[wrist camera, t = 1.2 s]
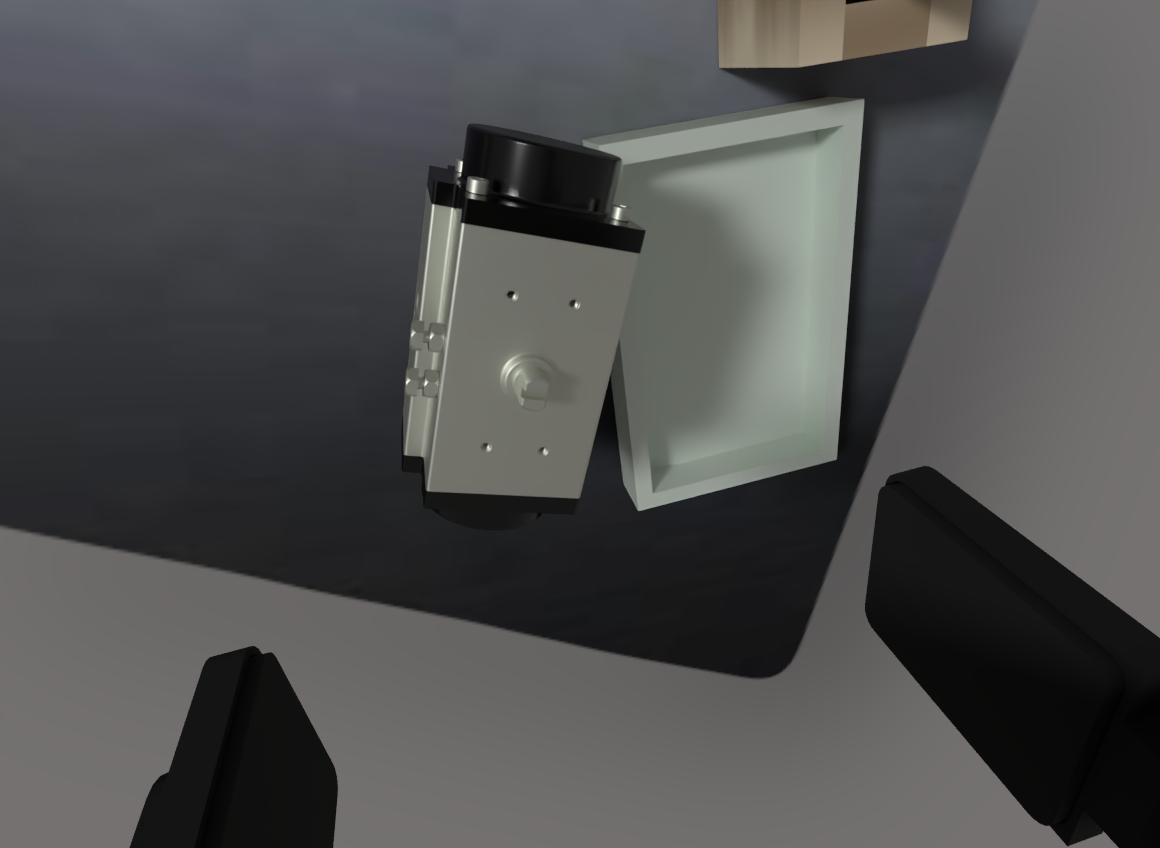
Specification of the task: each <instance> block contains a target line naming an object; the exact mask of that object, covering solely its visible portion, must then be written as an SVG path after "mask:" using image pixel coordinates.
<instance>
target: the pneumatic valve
mask: <svg viewBox="0 0 1160 848" xmlns="http://www.w3.org/2000/svg"><path fill="white" fill-rule="evenodd" d="M621 166H622V159H621V158H620V157H618V156H616V155H613V154H610V153H606V152H603V151H600V150H596V149H592V148H588V147H585V146H581V145H577V144H573V143H569V142H565V141H560V140H556V139H552V138H548V137H543V136H539V135H534V134H530V133H525V132H520V131H515V130H510V129H505V128H500V127H495V126H489V125H483V124H474V123H472V124H469V125H468V126H467V132H466V140H465V148H464V156H463V159H456V165H455V166H451V165H448V169H445V168H440V167H435V166H429V174H428V183H427V193H426V202H425V211H424V221H423V230H422V240H421V249H420V258H419V268H418V277H417V286H416V296H415V305H414V315H413V321H412V323H411V331H410V343H409V349H410V352H409V362H408V368H407V370H406V378H405V399H404V409H403V418H402V471H403V472H413V473H421V474H422V495H423V506H424V508H426V509H432V510H433V511H434V512H435V513H437V514H438V515H439V516H441V517H442V518H444V519H446V520H448V521H450V522H452V523H455V524H457V525H461V526H464V527H467V528H472V529H476V530H483V531H506V530H513V529H517V528H521V527H524V526H526V525H528V524H530V523H532V522H534V521H535V520H536V519H538V518H539V517H540V516H541V514H542V513H547V514H572V515H574V514H576V511H577V507H578V503H579V499H580V495H581V491H582V487H583V483H584V479H585V475H586V471H587V467H588V463H589V459H590V455H591V450H592V446H593V442H594V438H595V434H596V430H597V426H598V422H599V418H600V414H601V410H602V406H603V402H604V398H605V394H606V390H607V386H608V382H609V378H610V374H611V370H612V366H613V362H614V358H615V354H616V350H617V346H618V342H619V338H620V334H621V329H622V325H623V321H624V317H625V313H626V309H627V305H628V301H629V297H630V293H631V289H632V285H633V281H634V277H635V273H636V269H637V265H638V261H639V257H640V253H641V249H642V245H643V241H644V237H645V233H646V230H645V229H643V228H642V227H640V226H639V225H637V224H636V223H634V222H633V221H631V220H630V215H631V211H632V209H631V208H630V207H627V206H624V205H619V204H613V201H614V197H615V193H616V188H617V184H618V179H619V175H620V170H621Z"/></svg>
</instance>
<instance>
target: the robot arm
mask: <svg viewBox="0 0 1160 848" xmlns="http://www.w3.org/2000/svg"><path fill="white" fill-rule="evenodd" d="M865 612H866V616H867V619H868V622H869V623H870V625H871V627H872V628H873V629H874V631H875V632H876V633H877V634H878V636H879V637H880V638H881V639H882V641H883V642H884V643H885V644H886V645H887V647H888V648H889V649H890V650H891V651H892V652H893V654H894V655H895V656H896V657H897V658H898V660H899V661H900V662H901V663H902V664H903V666H904V667H906V669H907V670H908V671H909V672H910V674H911V675H912V676H913V677H914V679H915V680H916V681H917V682H918V683H919V684H920V686H921V687H922V688H923V689H924V690H925V692H926V693H927V694H928V695H929V696H930V697H931V699H932V700H933V701H934V702H935V703H936V705H937V706H938V707H939V708H940V709H941V710H942V712H943V713H944V714H945V715H946V717H947V718H948V719H949V720H950V721H951V722H952V724H953V725H954V726H955V727H956V728H957V730H958V731H959V732H960V733H961V734H962V736H963V737H964V738H965V739H966V740H967V741H968V743H969V744H970V745H971V746H972V747H973V748H974V750H975V751H976V752H977V753H978V754H979V756H980V757H981V758H982V759H983V760H984V762H985V763H986V764H987V765H988V766H989V767H990V769H991V770H992V771H993V772H994V773H995V774H996V776H997V777H998V778H999V779H1000V781H1001V782H1002V783H1003V784H1004V785H1005V786H1006V788H1007V789H1008V790H1009V791H1010V792H1011V794H1012V795H1013V796H1014V797H1015V798H1016V799H1017V801H1018V802H1019V803H1020V804H1021V805H1022V807H1023V808H1024V809H1025V810H1026V811H1027V812H1028V814H1029V815H1030V816H1031V817H1032V818H1033V819H1034V820H1036V821H1037V822H1039V823H1040V824H1043V825H1045V826H1049V825H1050V827H1051V828H1052V829H1053V830H1054V831H1055V832H1056V834H1057V835H1058V836H1059V837H1060V838H1061V839H1062V841H1064V843H1065V844H1066V845H1067V846H1070V845H1072V844H1075V843H1078V842H1080V841H1083V840H1085V839H1088V838H1091V837H1094V836H1096V835H1099V834H1102V832H1103V831H1104V832H1105V833H1106V834H1107V835H1108V837H1110V839H1111V840H1112V841H1113V842H1114V843H1115V844H1116V845H1117V846H1118V847H1119V848H1160V638H1159V637H1158V636H1156V635H1155V634H1153V633H1152V632H1151V631H1150V630H1148V629H1147V628H1145V627H1144V626H1143V625H1142V624H1140V623H1139V622H1137V621H1136V620H1135V619H1134V618H1132V617H1131V616H1130V615H1128V614H1127V613H1125V612H1124V611H1123V610H1121V609H1120V608H1119V607H1118V606H1116V605H1115V604H1114V603H1112V602H1111V601H1110V600H1108V599H1107V598H1106V597H1104V596H1103V595H1102V594H1100V593H1099V592H1098V591H1096V590H1095V589H1094V588H1092V587H1091V586H1090V585H1088V584H1087V583H1086V582H1084V581H1083V580H1082V579H1080V578H1079V577H1077V576H1076V575H1075V574H1074V573H1072V572H1071V571H1070V570H1068V569H1067V568H1066V567H1064V566H1063V565H1062V564H1060V563H1059V562H1058V561H1056V560H1055V559H1054V558H1052V557H1051V556H1050V555H1048V554H1047V553H1046V552H1044V551H1043V550H1042V549H1040V548H1039V547H1038V546H1036V545H1035V544H1034V543H1032V542H1031V541H1030V540H1028V539H1027V538H1026V537H1024V536H1023V535H1022V534H1020V533H1019V532H1018V531H1016V530H1015V529H1014V528H1012V527H1011V526H1010V525H1008V524H1007V523H1006V522H1004V521H1003V520H1002V519H1000V518H999V517H997V516H996V515H995V514H994V513H992V512H991V511H990V510H988V509H987V508H986V507H984V506H983V505H982V504H980V503H979V502H977V501H976V500H975V499H974V498H972V497H971V496H970V495H968V494H967V493H966V492H964V491H963V490H962V489H960V488H959V487H958V486H956V485H955V484H953V483H952V482H951V481H950V480H948V479H947V478H946V477H944V476H943V475H942V474H940V473H939V472H938V471H936V470H935V469H933V468H931V467H928V466H923V467H919V468H915V469H911V470H908V471H904V472H900V473H897V474H893V475H891V476H889V478H888V479H887V481H886V485H885V486H884V487H882V488H881V489H880V491H879V494H878V503H877V511H876V519H875V528H874V536H873V544H872V552H871V560H870V569H869V577H868V585H867V593H866V602H865ZM337 792H338V785H337V775H336V771H335V768H334V765H333V763H332V761H331V759H330V757H329V756H328V754H327V752H326V750H325V748H324V746H323V744H322V742H321V740H320V739H319V737H318V735H317V733H316V731H315V729H314V727H313V725H312V724H311V722H310V720H309V718H308V716H307V715H306V712H305V710H304V709H303V707H302V705H301V703H300V701H299V699H298V697H297V696H296V694H295V692H294V690H293V688H292V686H291V684H290V683H289V681H288V679H287V677H286V675H285V673H284V671H283V669H282V667H281V666H280V664H279V662H278V660H277V658H276V657H275V655H274V654H273V653H271V652H270V653H266V654H262V653H261V652H260V651H259V649H258V648H256V647H255V646H251V647H247V648H243V649H239V650H235V651H232V652H228V653H224V654H221V655H217V656H213V657H210V658H209V659H208V660H207V661H206V662H205V664H204V666H203V669H202V672H201V675H200V678H199V681H198V684H197V687H196V690H195V693H194V696H193V699H192V702H191V706H190V709H189V712H188V715H187V718H186V721H185V724H184V727H183V730H182V733H181V736H180V739H179V742H178V745H177V748H176V751H175V754H174V758H173V761H172V764H171V767H170V770H169V772H168V773H166V774H164V775H161V776H160V777H159V778H158V779H157V781H156V782H155V783H154V784H153V786H152V788H151V790H150V792H149V794H148V797H147V799H146V802H145V805H144V808H143V810H142V813H141V816H140V819H139V822H138V825H137V828H136V831H135V833H134V836H133V839H132V842H131V845H130V848H333V841H334V830H335V818H336V807H337V806H336V805H337V795H338V793H337Z"/></svg>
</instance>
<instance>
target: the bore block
mask: <svg viewBox="0 0 1160 848" xmlns="http://www.w3.org/2000/svg"><path fill="white" fill-rule="evenodd" d="M972 2H973V0H718V41H719V68H799V67H805V66H811V65H817V64H823V63H829V62H835V61H841V60H847V59H853V58H859V57H865V56H871V55H877V54H883V53H889V52H895V51H901V50H908V49H914V48H920V47H926V46H932V45H938V44H944V43H950V42H956V41H962V40H967V37H968V30H969V23H970V16H971V9H972Z"/></svg>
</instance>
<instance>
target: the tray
mask: <svg viewBox="0 0 1160 848" xmlns="http://www.w3.org/2000/svg"><path fill="white" fill-rule="evenodd" d="M864 100H865V99H858V98H842V97H823V98H817V99H812V100H806V101H800V102H794V103H789V104H783V105H777V106H771V107H765V108H760V109H754V110H748V111H742V112H737V113H731V114H725V115H719V116H714V117H708V118H702V119H696V120H691V121H685V122H679V123H673V124H668V125H662V126H656V127H650V128H644V129H639V130H633V131H627V132H621V133H616V134H610V135H604V136H598V137H593V138H587V139H582V143H583V146H585V147H588V148H592V149H596V150H600V151H603V152H606V153H610V154H613V155H616V156H618V157H620V158H621V159H622V166H621V170H620V175H619V179H618V184H617V188H616V193H615V197H614V201H613V204H619V205H624V206H627V207H630V208H631V209H632V211H631V215H630V220H631V221H633V222H634V223H636V224H637V225H639V226H640V227H642V228H643V229H645V230H646V233H645V237H644V241H643V245H642V249H641V253H640V257H639V261H638V265H637V269H636V273H635V277H634V281H633V285H632V289H631V293H630V297H629V301H628V305H627V309H626V313H625V317H624V321H623V325H622V329H621V334H620V338H619V342H618V346H617V350H616V354H615V358H614V362H613V366H612V370H611V374H610V376H611V385H612V393H613V401H614V410H615V418H616V426H617V435H618V443H619V451H620V460H621V468H622V476H623V484H624V486H625V487H626V489H627V491H628V493H629V495H630V497H631V498H632V500H633V502H634V504H635V506H636V508H637V510H638V511H641V510H645V509H648V508H652V507H656V506H660V505H664V504H668V503H671V502H675V501H679V500H683V499H687V498H691V497H695V496H698V495H702V494H706V493H710V492H714V491H718V490H721V489H725V488H729V487H733V486H737V485H741V484H745V483H748V482H752V481H756V480H760V479H764V478H768V477H771V476H775V475H779V474H783V473H787V472H791V471H795V470H798V469H802V468H806V467H810V466H814V465H818V464H821V463H825V462H829V461H833V460H837V449H838V436H839V423H840V410H841V397H842V384H843V371H844V359H845V346H846V333H847V320H848V307H849V294H850V281H851V268H852V255H853V242H854V229H855V216H856V204H857V191H858V178H859V165H860V152H861V139H862V126H863V113H864Z"/></svg>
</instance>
